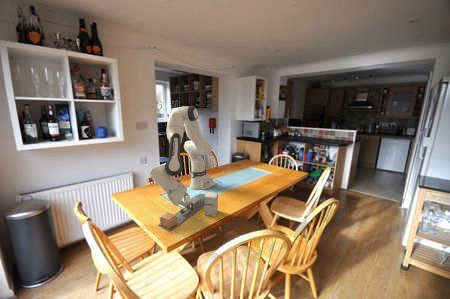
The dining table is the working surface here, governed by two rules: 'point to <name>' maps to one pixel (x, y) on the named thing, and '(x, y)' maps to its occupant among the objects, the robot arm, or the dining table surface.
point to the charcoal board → (183, 217)
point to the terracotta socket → (168, 220)
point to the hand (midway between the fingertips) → (187, 202)
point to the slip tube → (189, 206)
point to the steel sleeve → (197, 201)
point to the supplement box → (211, 203)
